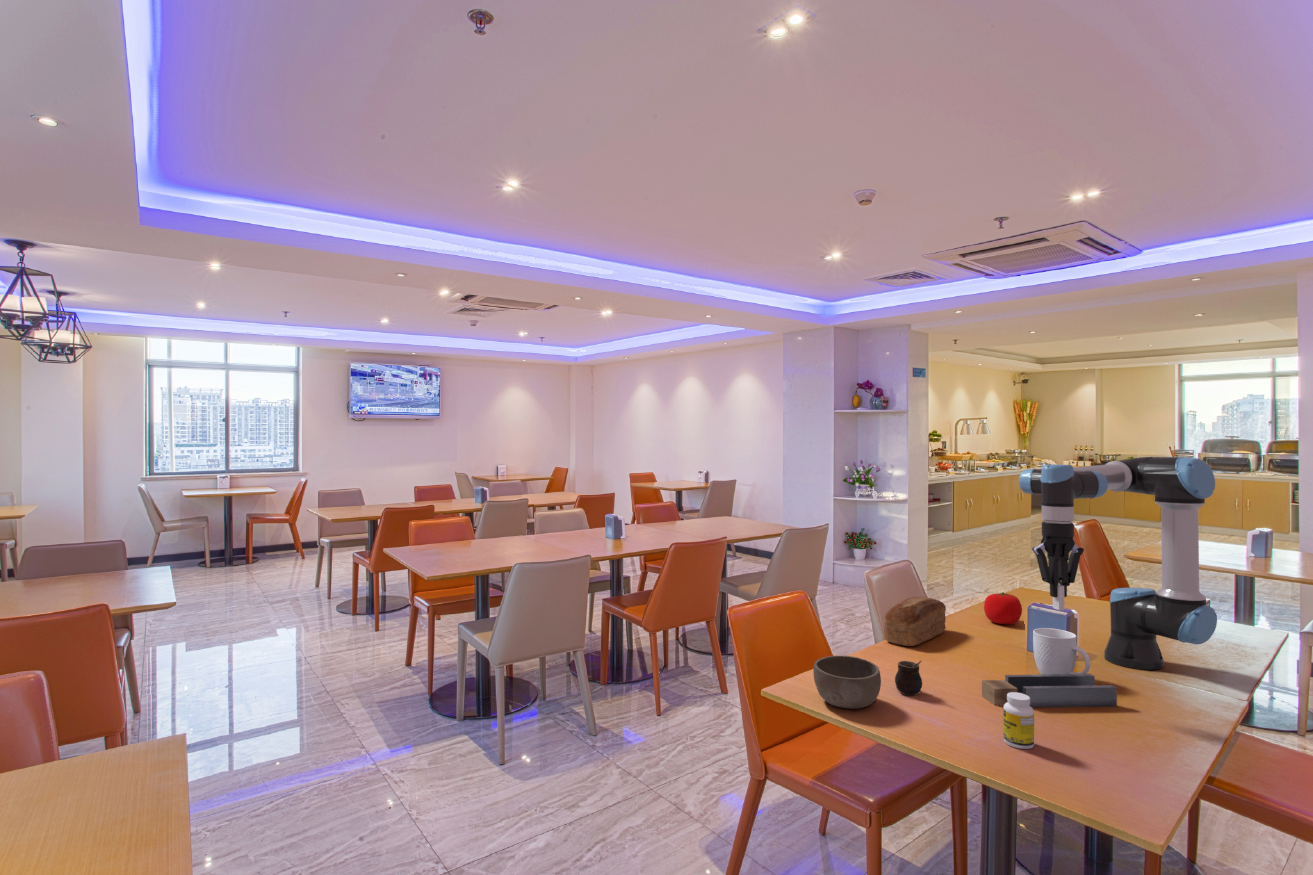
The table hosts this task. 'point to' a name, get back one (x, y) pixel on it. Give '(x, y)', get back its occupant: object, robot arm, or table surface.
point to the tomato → (1003, 608)
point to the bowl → (847, 681)
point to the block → (996, 691)
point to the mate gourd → (908, 678)
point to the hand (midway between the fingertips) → (1058, 608)
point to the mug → (1057, 651)
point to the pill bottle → (1018, 721)
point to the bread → (914, 621)
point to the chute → (1064, 690)
